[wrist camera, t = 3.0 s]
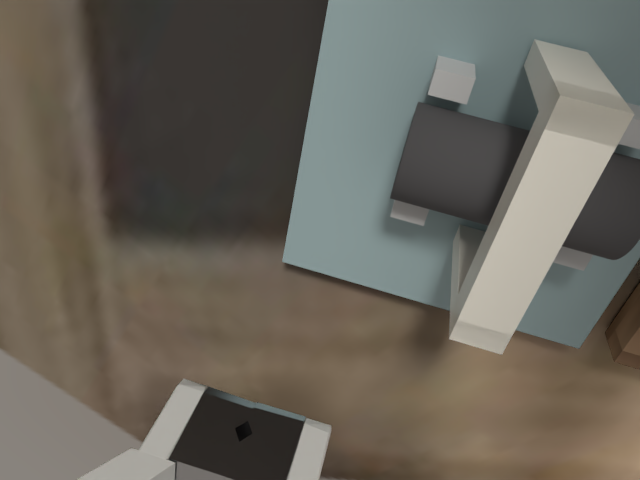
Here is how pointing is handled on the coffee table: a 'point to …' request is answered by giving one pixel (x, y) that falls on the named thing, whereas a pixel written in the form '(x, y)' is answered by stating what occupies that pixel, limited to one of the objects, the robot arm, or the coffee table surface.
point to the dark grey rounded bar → (506, 179)
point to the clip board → (457, 95)
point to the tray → (626, 333)
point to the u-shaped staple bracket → (536, 196)
